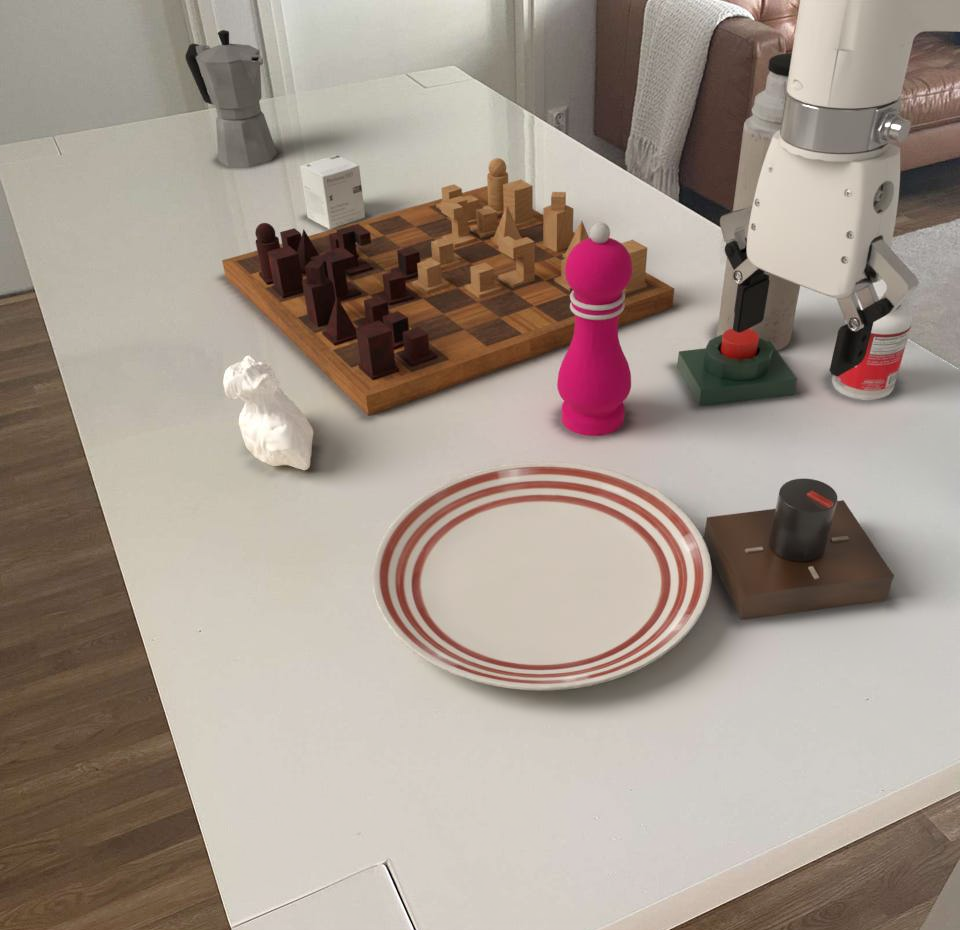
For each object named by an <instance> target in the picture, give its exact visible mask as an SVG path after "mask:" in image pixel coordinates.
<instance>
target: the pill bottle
mask: <svg viewBox="0 0 960 930" xmlns="http://www.w3.org/2000/svg"><path fill="white" fill-rule="evenodd" d="M873 286H874V288H875V291H876V293H877V296H878V298H879V300H880V299H881V298H882V296H883V295H884V293H885V292H886V291H887V284H886V283H885V282H884V280H883V279H881V280H880V281H878V282H875V283H873ZM912 294H913V292H912V293H911V294H910V295H909V297H908V298H907V299H906V300H905V301H904V302H903V303H902V304H901V306H900V307H899V308H898V309H897V310H895V311H893V312H891V313H889V314H888V315H886V316H884V317H882V318H880V319H879V320H877V321H875V322H873V326H872V331H871V335H870V339H869V343H868V347H867V351H866V355H865V357H864V359H863V361H862V362H861V363H860V364H858V365H857V366H855V367H854V368H852V369H850V370H848V371H847V372H845V373H843V374H841V375H840V376H838V377H837V376H835V375H832V377H831V383H832V386H833V388H834V389H835V391H837V392H838V393H840V394H841V395H844V396H846V397H849V398H851V399H855V400H862V401H874V400H875V401H876V400H880V399H883V398H885V397H887V396H889V395H890V394H891V393H892V392H893V391H894V388H895V386H896V382H897V379H898V375H899V371H900V368H901V364H902V360H903V357H904V353H905V350H906V345H907V342H908V339H909V335H910V331H911V329H912V324H913V321H914V316H913V311H912V309H911V308H910V307H909V304H910V302H911V299H912ZM857 301H858V303H859V305H860V308H861V310H863V308H862V306H861V303H860V301H859V298H857ZM845 324H847V323H846V320H845V319H844V324H843V326H844V325H845Z"/></svg>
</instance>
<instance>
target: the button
mask: <svg viewBox="0 0 960 930" xmlns="http://www.w3.org/2000/svg"><path fill="white" fill-rule="evenodd" d="M758 341H759V336H758V334H757V333H756V332H755V331H753V330H750V329H747V330H745V331H743V332H740V333H738V332H736V331H734V330H733V328H732V329H729V330H727V331H725V332H724V333H723V337H722V344H721V353H722V354H723V355H725V356H727V357H729V358H734V359H740V360H741V359H750V358H752V357H754V356H755V355H756V353H757V347H758Z"/></svg>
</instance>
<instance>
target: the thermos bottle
mask: <svg viewBox="0 0 960 930" xmlns="http://www.w3.org/2000/svg"><path fill="white" fill-rule="evenodd" d="M791 57H792V52H789V53H788V52H787V53H779V54H776V55H774V56H772V57H770V58H769V60H768V66H767V67H768V68H767V69H768V71H769V73H768V74H767V76H766V83H765V84H766V85H765V89H764V90H762V91H761V92H759V93H758V94H756V95H755V97H754V102H753V106H752V107H751V113H752V115H751V116H749V117H748V118H746V120H745V121H744V123H743V130H742V137H741V144H740V154H739V161H738V167H737V176H736V182H735V184H736V185H735V192H734V198H733V207H732V212H733V211H736V210H739V209H743V208H746V207H750V206H753V201H754V197H755V192H756V188H757V184H758V180H759V176H760V173H761V169H762V166H763V163H764V160H765V157H766V154H767V151H768V148H769V145H770V143H771V140H772V138H773V135H774V134H775V133H776V132H777V131H779V130H780V128H781V121H782V115H783V108H784V102H785V95H786V90H787V83H788V77H789V70H790V63H791ZM748 227H749V225H747V226H745V228H744V231H745V235H744V237H745V238H747V235H748ZM725 261H726V262H725V269H724V277H723V286H722V292H721V299H720V307H719V316H718V323H717V330H716V331H717V332H716V337H718V336H720V335H723V333H724V332H725V331H727V330H729V329H732V328H733V323H734V316H735V313H734V309H735V302H736V295H737V288H738V284H737V283H735V282H734V280H733V278H732V273H733V271H734V270H733V268H732V266H731V264H730V262H729V260H728V258H727V257H726V260H725ZM764 274H767V275H769V280H770V282H769V288H768V295H767V301H766V307H765V313H764V319H763V321H762V322H761V323H759V324H757V325H755V326H753V327H751V328H749V329H750V330H753V331H755V332H756V333H757V334H758V336H759V338H761V339H763V340H765V341H770V342H771V343H772V345H773V346H774V347H775V349H776V350H777V352H778V351H781V350H782V349H784V348H786V347H787V346H788V345H789V344H790V341H791V339H792V332H793V328H794V322H795V317H796V310H797V305H798V301H799V294H800V289H801V286H800V285H797V284H795V283H792V282H790V281H787V280H785V279H782V278H780V277H777V276H775V275H772V274H770V273H768V272H764Z"/></svg>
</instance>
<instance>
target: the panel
mask: <svg viewBox="0 0 960 930" xmlns="http://www.w3.org/2000/svg"><path fill="white" fill-rule="evenodd" d="M775 510H776V508H769V509H762V510H754V511H748V512H747V511H746V512H738V513H737V512H736V513H731V514H729V513H728V514H722V515H713V516H706V519H705V527H704V534H703V539H704V541H705V543H706V546H707V548H708V552H709V555H710V560H711V562H712V563H713V565H714V567H715V569H716V572H717V573H718V575H719V578H720V580H721V582H722V584H723V586H724V588H725V590H726V592H727V594H728V597H729V599H730V600H731V603H732V604H733V606H734V609H735V611H736V613H737V615H738V618H739V620H741V621H743V620H749V619H750V620H751V619H758V618H759V619H760V618H765V617H773V616H781V615H788V614H789V615H790V614H797V613H802V612H803V613H804V612H810V611H818V610H826V609H833V608H841V607H848V606H849V607H850V606H856V605H857V606H858V605H865V604H871V603H880V602H886V601H887V600H888V597H889V592H890V589H891V586H892V583H893V581H894V577H895V574H894V573H893V572H892V570H891V569H890V567H889V565H888V564H887V562H886V561H885V560H884V558H883V557H882V555H881V554H880V552H879V551H878V549H877V547H875V545H874V543H873V542H872V541H871V539H870V537H869V536H868V535H867V533H866V532H865V530H864V529H863V527H862V525H861V524H860V523H859V521H858V520H857V518H856V517H855V515H854V513H853V512H852V510H851V509H850V508H849V506H848V505H847V503H846V502H845V500H844V499H842V500H841V499H840V500H837V504H836V508H835V512H834V516H833V520H832V524H831V528H830V532H829V536H828V540H827V544H826V548H825V551H824V553H823V554H822V555H821V556H820V557H819V558H817V559H814V560H811V561H805V562H798V561H792V560H788V559H785V558H783V557H781V556H779V555H778V554H776V553H775V552H774V551H773V550H772V548H771V546H770V543H769V540H770V535H771V530H772V525H773V520H774V515H775Z"/></svg>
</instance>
